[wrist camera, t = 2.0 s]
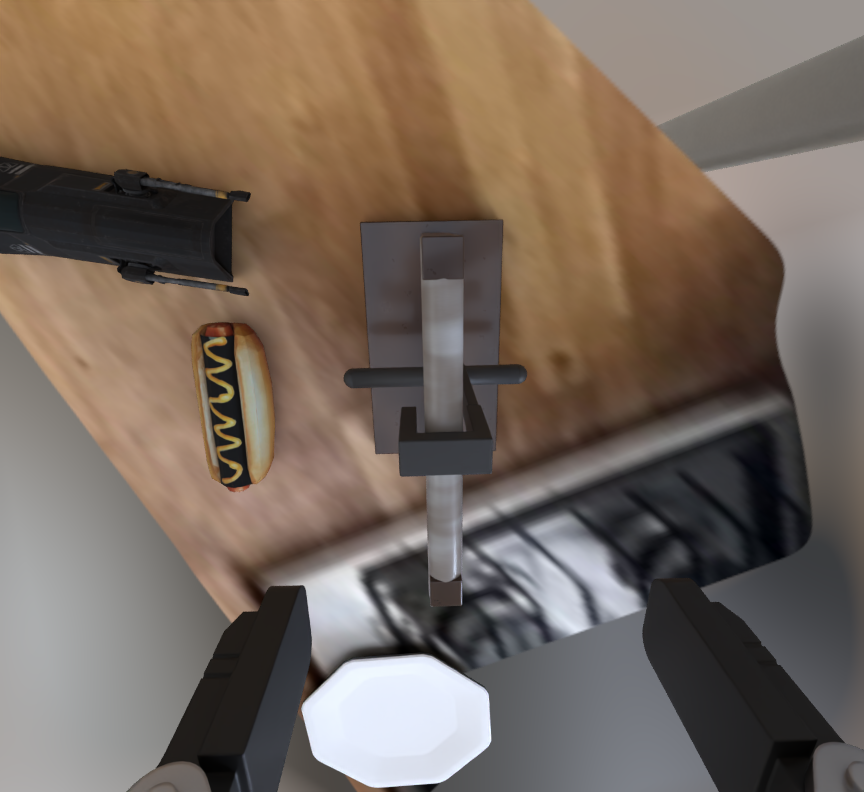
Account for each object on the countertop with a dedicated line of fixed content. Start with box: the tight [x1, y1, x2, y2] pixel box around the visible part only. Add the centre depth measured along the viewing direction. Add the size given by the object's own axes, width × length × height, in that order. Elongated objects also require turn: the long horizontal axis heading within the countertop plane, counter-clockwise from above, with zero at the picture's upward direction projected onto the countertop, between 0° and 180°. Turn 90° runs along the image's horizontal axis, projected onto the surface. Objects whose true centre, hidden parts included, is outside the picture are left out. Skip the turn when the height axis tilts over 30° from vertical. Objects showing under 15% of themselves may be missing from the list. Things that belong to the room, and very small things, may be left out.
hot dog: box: [191, 322, 275, 492], centre depth 35 cm, size 5×13×5 cm, turn 178°
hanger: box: [344, 363, 527, 477], centre depth 23 cm, size 11×2×11 cm, turn 91°
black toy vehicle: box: [0, 157, 251, 296], centre depth 29 cm, size 7×25×8 cm, turn 81°
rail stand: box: [360, 220, 503, 606], centre depth 28 cm, size 10×18×19 cm, turn 1°
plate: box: [301, 652, 491, 788], centre depth 50 cm, size 20×20×2 cm
